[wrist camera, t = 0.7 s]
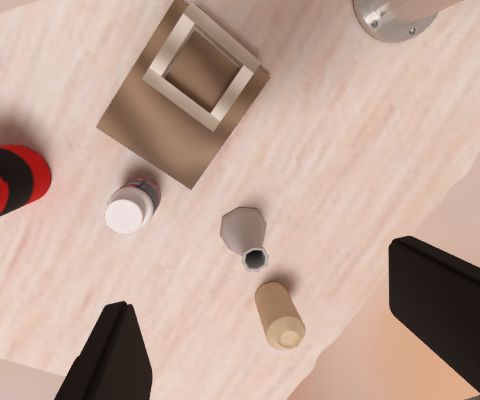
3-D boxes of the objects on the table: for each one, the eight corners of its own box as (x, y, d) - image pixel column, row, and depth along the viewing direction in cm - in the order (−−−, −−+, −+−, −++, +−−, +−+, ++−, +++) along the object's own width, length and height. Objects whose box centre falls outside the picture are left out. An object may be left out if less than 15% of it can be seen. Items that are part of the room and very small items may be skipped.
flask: (224, 255, 42) (231, 293, 33) (214, 212, 40) (218, 239, 31) (269, 244, 43) (289, 278, 33) (262, 201, 41) (280, 224, 31)
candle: (250, 307, 45) (263, 356, 36) (259, 278, 44) (275, 321, 35) (281, 312, 46) (301, 360, 37) (291, 284, 45) (314, 326, 36)
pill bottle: (145, 170, 37) (128, 183, 29) (168, 200, 39) (159, 221, 30) (113, 191, 37) (87, 210, 29) (137, 220, 39) (119, 247, 30)
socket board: (177, 1, 33) (174, -15, 29) (267, 79, 36) (275, 73, 32) (100, 127, 35) (87, 127, 31) (191, 187, 39) (190, 194, 35)
